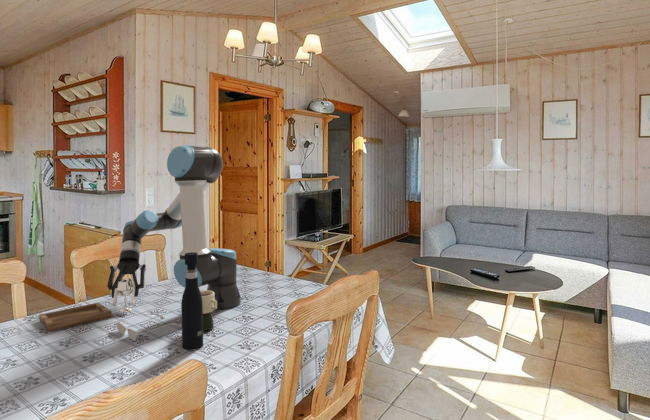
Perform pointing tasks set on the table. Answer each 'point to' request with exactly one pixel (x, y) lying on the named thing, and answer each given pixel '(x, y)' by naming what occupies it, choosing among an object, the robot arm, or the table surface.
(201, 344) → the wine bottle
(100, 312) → the walnut tray
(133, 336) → the eyeglasses
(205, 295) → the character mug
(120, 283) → the wineglass
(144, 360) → the table surface
